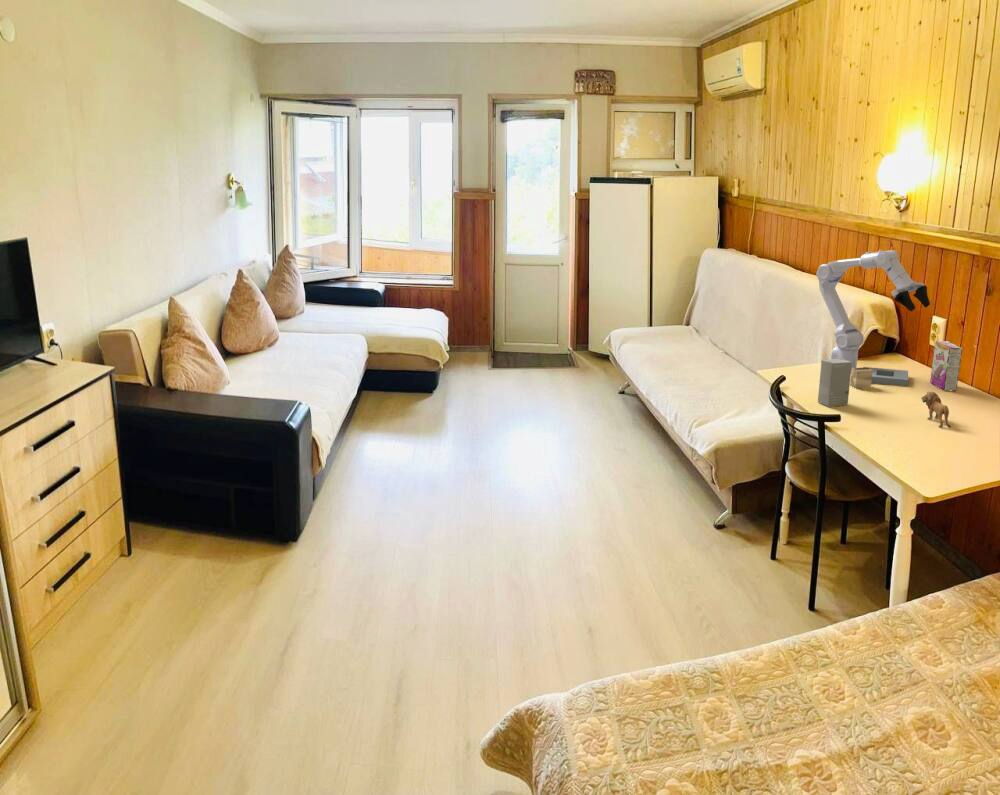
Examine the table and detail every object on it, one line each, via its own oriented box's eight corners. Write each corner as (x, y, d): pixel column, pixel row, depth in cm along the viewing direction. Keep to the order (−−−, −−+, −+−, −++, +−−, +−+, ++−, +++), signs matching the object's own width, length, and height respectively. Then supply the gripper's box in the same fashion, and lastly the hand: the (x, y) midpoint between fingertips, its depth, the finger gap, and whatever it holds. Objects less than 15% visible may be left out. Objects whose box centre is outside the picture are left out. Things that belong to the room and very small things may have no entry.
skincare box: (828, 407, 290) (832, 363, 285) (815, 402, 296) (819, 358, 291) (849, 405, 292) (854, 361, 287) (836, 399, 298) (840, 356, 294)
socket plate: (861, 382, 319) (861, 375, 318) (862, 372, 331) (863, 366, 330) (907, 386, 312) (908, 379, 311) (907, 376, 324) (908, 370, 323)
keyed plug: (849, 385, 314) (851, 366, 312) (865, 385, 315) (867, 366, 313) (855, 388, 311) (857, 369, 308) (870, 388, 311) (872, 369, 309)
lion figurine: (916, 415, 280) (920, 390, 277) (931, 414, 280) (935, 389, 278) (943, 430, 266) (947, 403, 263) (958, 429, 266) (962, 402, 264)
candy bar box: (928, 383, 316) (934, 340, 311) (942, 382, 315) (948, 340, 311) (943, 391, 305) (949, 348, 300) (957, 391, 305) (963, 347, 300)
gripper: (892, 275, 302) (913, 305, 297) (921, 268, 307) (942, 297, 302) (880, 286, 308) (900, 316, 303) (908, 279, 313) (929, 308, 309)
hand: (920, 307), depth 303 cm, fingers open, 7 cm apart
